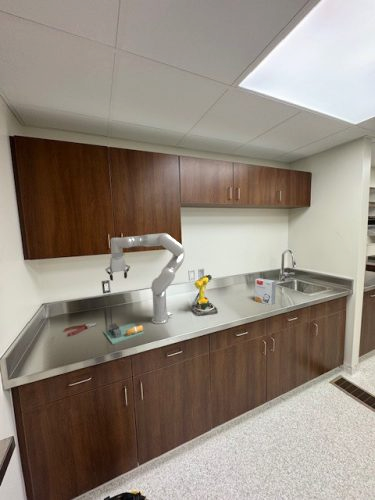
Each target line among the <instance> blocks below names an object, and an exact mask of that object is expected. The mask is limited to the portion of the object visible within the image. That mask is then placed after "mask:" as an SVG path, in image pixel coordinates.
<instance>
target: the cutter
mask: <svg viewBox="0 0 375 500" xmlns="http://www.w3.org/2000/svg"><path fill="white" fill-rule="evenodd" d="M119 327H120V326H119V325H118V324H117V323H110V324H108V330H109V332H110V333H111V334H112V335H113V336H114V337H115V338H118V337H122V335H121V330H120V329H119Z"/></svg>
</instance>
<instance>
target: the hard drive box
mask: <svg viewBox="0 0 375 500" xmlns="http://www.w3.org/2000/svg"><path fill="white" fill-rule="evenodd" d="M254 302H257V303H261V304H265V305H269V306H272V305H275V304H276V280H273V279H268V278H267V279H265V278H260V277H258V278H255V279H254Z"/></svg>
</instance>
